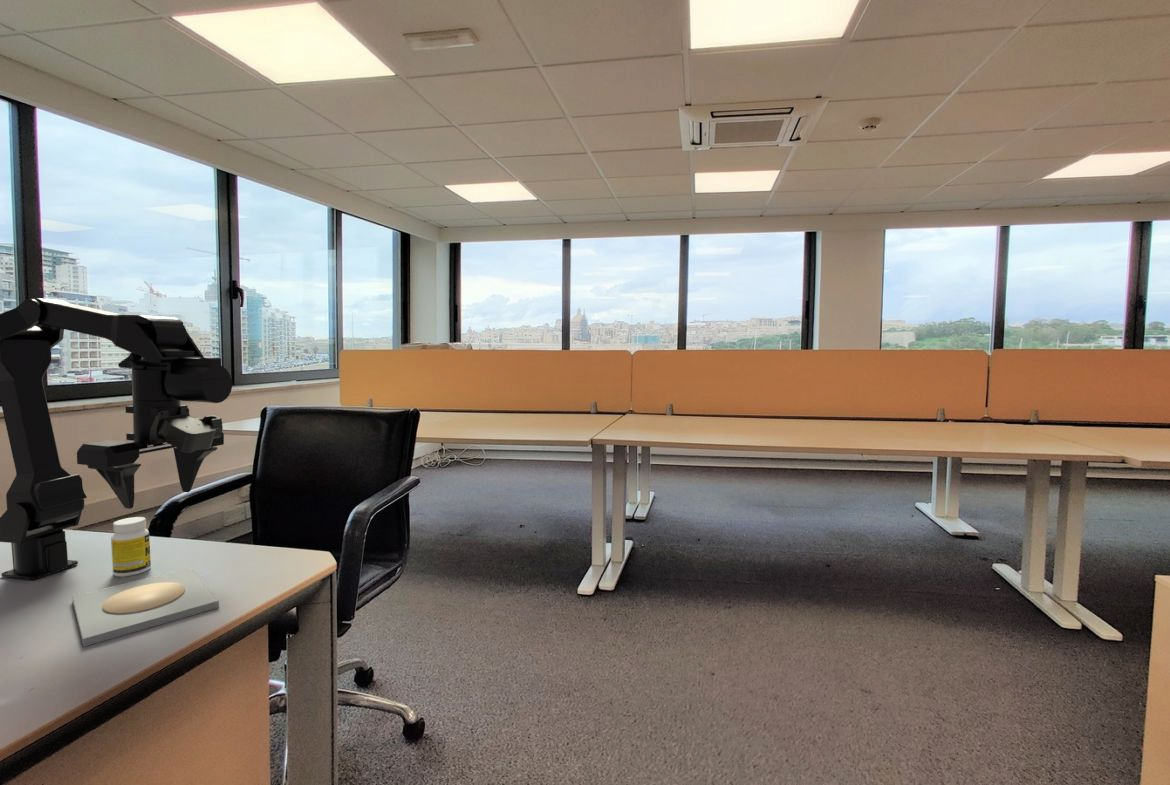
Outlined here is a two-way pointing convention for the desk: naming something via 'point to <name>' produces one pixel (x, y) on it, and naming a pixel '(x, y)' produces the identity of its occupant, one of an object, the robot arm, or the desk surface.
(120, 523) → the supplement bottle
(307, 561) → the desk surface
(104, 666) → the desk surface
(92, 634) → the slate board
